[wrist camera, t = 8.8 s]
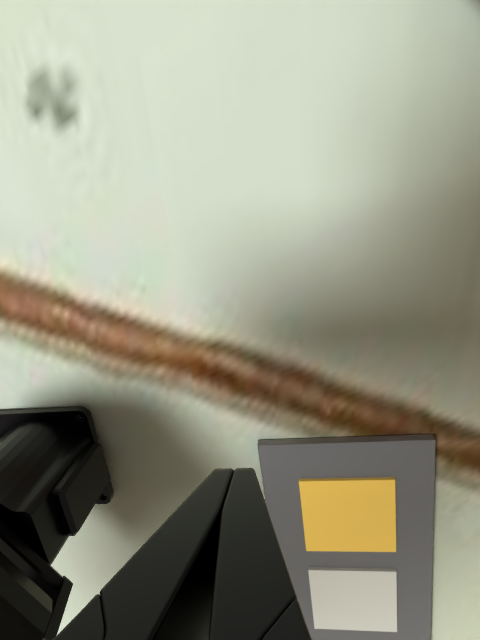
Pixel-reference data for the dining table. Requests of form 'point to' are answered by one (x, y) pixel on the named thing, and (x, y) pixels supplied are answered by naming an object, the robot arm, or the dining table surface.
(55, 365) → the dining table surface
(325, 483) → the card
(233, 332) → the dining table surface
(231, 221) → the dining table surface
